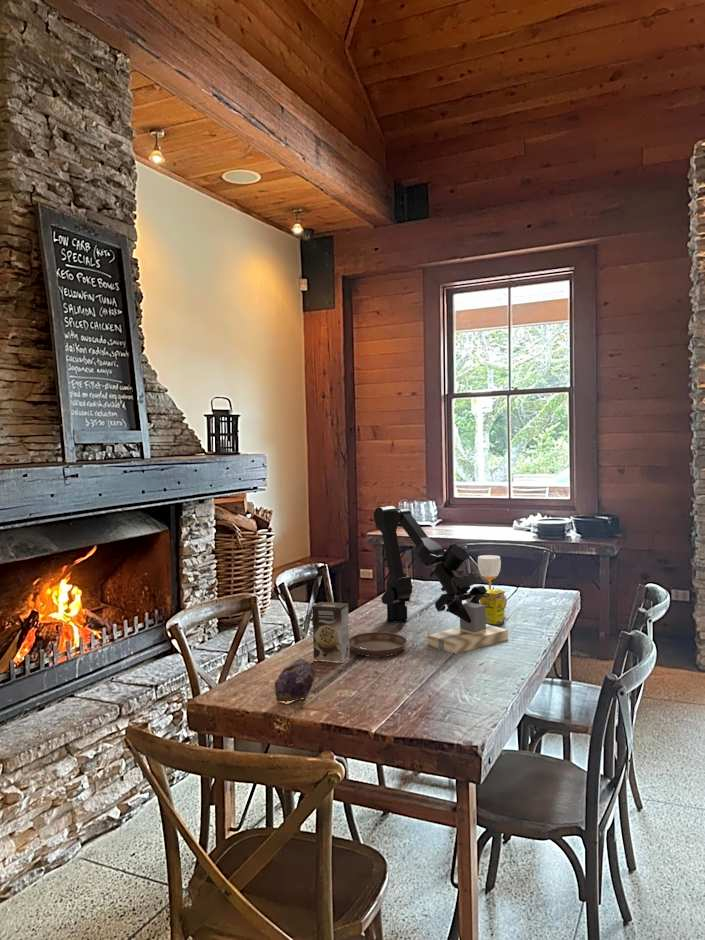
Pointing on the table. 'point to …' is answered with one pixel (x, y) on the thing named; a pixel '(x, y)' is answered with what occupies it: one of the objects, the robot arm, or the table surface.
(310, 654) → the table surface
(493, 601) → the supplement box
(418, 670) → the table surface
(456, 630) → the birch board
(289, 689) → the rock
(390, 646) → the plant saucer
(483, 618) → the block
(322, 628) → the cookie box
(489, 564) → the cup
